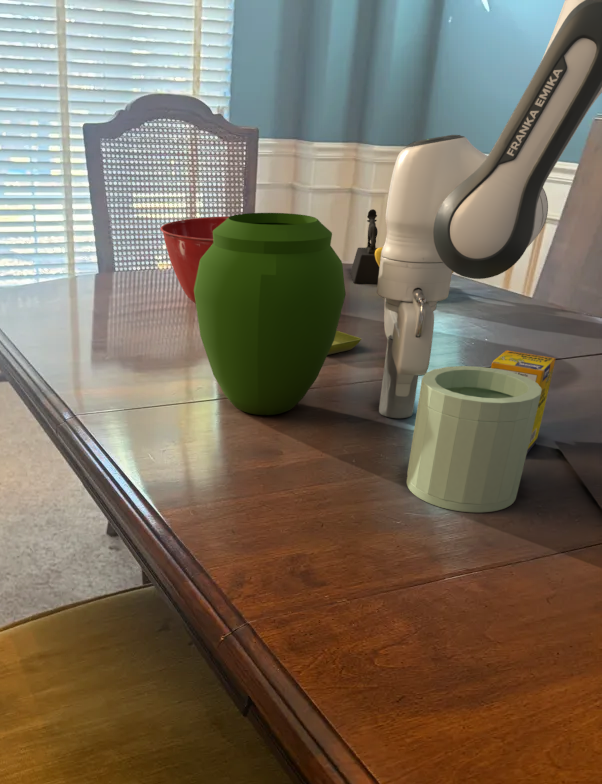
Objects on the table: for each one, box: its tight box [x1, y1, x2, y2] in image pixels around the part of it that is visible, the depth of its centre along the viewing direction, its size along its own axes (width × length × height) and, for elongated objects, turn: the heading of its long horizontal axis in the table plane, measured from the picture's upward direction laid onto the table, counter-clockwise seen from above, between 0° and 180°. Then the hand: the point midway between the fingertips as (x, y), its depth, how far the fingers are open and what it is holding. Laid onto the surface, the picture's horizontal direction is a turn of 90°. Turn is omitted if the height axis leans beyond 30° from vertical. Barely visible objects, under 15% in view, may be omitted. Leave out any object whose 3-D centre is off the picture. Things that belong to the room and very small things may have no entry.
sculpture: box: [350, 209, 380, 285], centre depth 180 cm, size 8×13×15 cm, turn 171°
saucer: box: [327, 329, 362, 356], centre depth 131 cm, size 9×9×2 cm
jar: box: [406, 365, 542, 514], centre depth 82 cm, size 12×12×12 cm
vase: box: [194, 212, 346, 416], centre depth 101 cm, size 20×20×24 cm
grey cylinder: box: [378, 335, 420, 419], centre depth 102 cm, size 4×4×10 cm
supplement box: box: [490, 349, 556, 455], centre depth 93 cm, size 6×6×11 cm
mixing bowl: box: [160, 216, 230, 305], centre depth 155 cm, size 28×28×15 cm
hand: (399, 387), depth 103 cm, fingers closed on grey cylinder, 4 cm apart
